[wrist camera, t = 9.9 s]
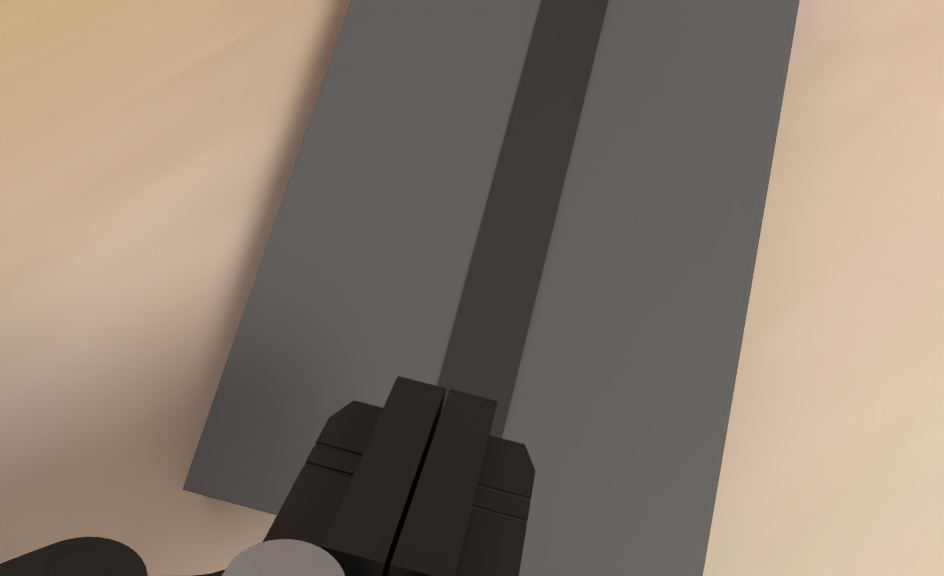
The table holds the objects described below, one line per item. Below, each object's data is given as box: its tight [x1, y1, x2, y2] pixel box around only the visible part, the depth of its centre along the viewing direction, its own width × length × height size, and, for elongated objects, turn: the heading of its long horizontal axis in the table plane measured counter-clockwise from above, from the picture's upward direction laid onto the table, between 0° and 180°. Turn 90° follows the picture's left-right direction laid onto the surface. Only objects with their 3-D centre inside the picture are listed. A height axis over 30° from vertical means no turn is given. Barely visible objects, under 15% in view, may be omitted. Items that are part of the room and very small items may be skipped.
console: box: [183, 0, 799, 576], centre depth 22 cm, size 11×24×4 cm, turn 166°
